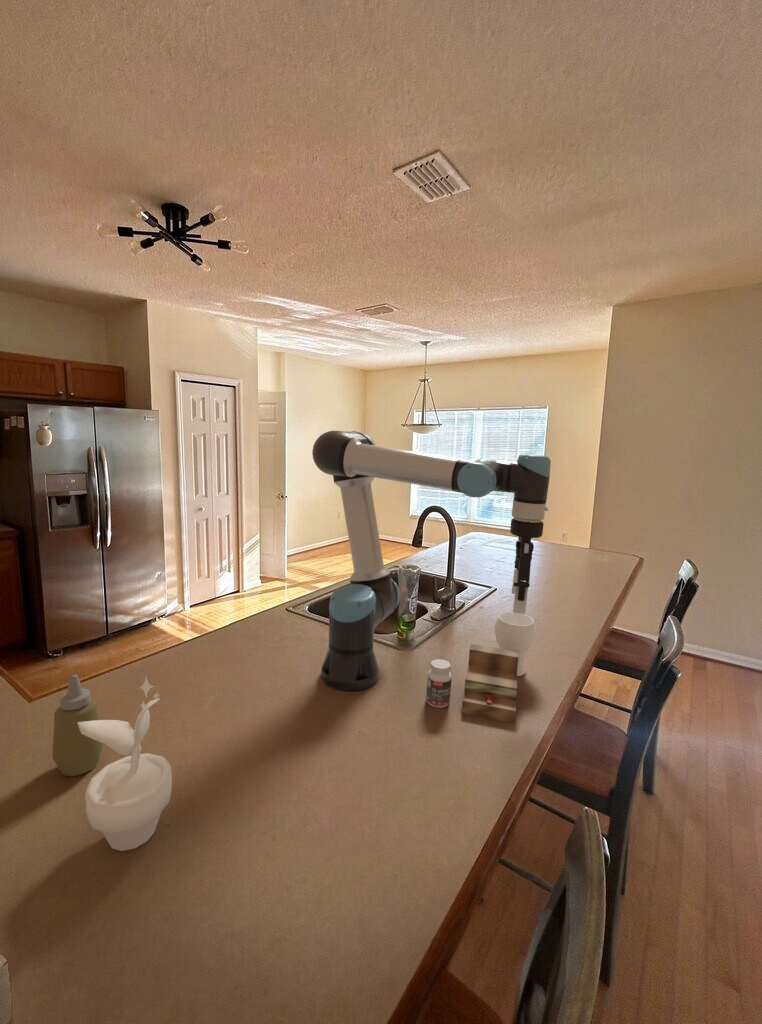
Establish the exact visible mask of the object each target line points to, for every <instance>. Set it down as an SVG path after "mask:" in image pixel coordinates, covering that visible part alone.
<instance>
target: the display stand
mask: <svg viewBox="0 0 762 1024" xmlns="http://www.w3.org/2000/svg"><path fill="white" fill-rule="evenodd" d="M469 647H470V648H469V656H468V665H467V669H466V675H465V680H464V691H463V697H462V701H461V703H462V704H461V713H463V714H467V715H472V716H477V717H482V718H487V719H492V720H498V721H503V722H509V723H512V724H516V715H517V714H516V713H517V696H518V695H517V694H518V676H517V667H518V651H513V650H507V649H501V648H499V647H495V646H493V647H492V646H486V645H481V644H475V643H470V646H469Z"/></svg>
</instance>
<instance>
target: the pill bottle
mask: <svg viewBox="0 0 762 1024" xmlns="http://www.w3.org/2000/svg"><path fill="white" fill-rule="evenodd" d="M450 671H451V663H450V662H449V661H448V660H446V659H439V658H437V659H434V660H431V662H430V670H428V672H427V679H426V680H427V682H426V691H425V693H426V695H425V700H426V703H427V704H428V705H430V706H431V707H434V708H438V709H440V708H445V707H447V706H449V704H450V700H451V690H452V676H453V675H452V673H451V672H450Z"/></svg>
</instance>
